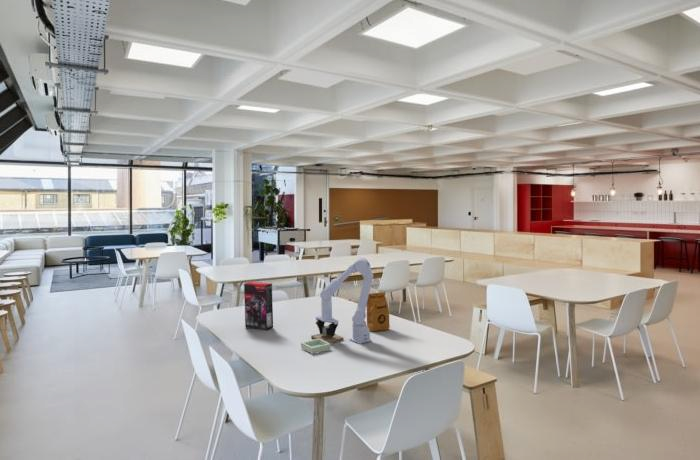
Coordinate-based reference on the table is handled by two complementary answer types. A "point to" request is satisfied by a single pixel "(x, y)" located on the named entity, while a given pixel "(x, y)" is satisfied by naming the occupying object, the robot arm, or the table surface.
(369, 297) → the coffee package
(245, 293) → the graphics card box
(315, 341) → the tray
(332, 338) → the tan flat square frame
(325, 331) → the pin
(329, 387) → the table surface
